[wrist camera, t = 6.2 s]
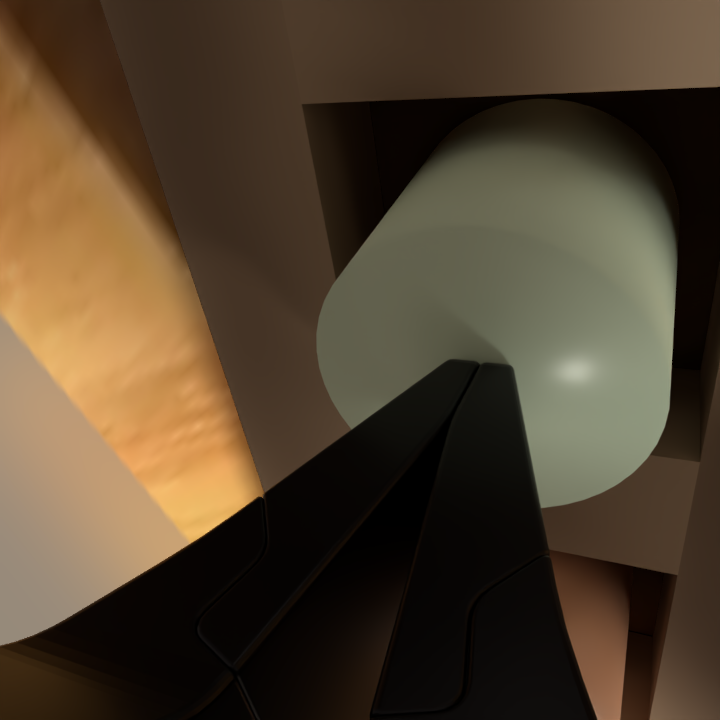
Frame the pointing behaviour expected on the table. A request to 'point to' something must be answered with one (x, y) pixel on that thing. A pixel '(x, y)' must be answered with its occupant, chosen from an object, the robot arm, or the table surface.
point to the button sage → (524, 287)
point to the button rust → (596, 623)
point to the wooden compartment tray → (365, 211)
